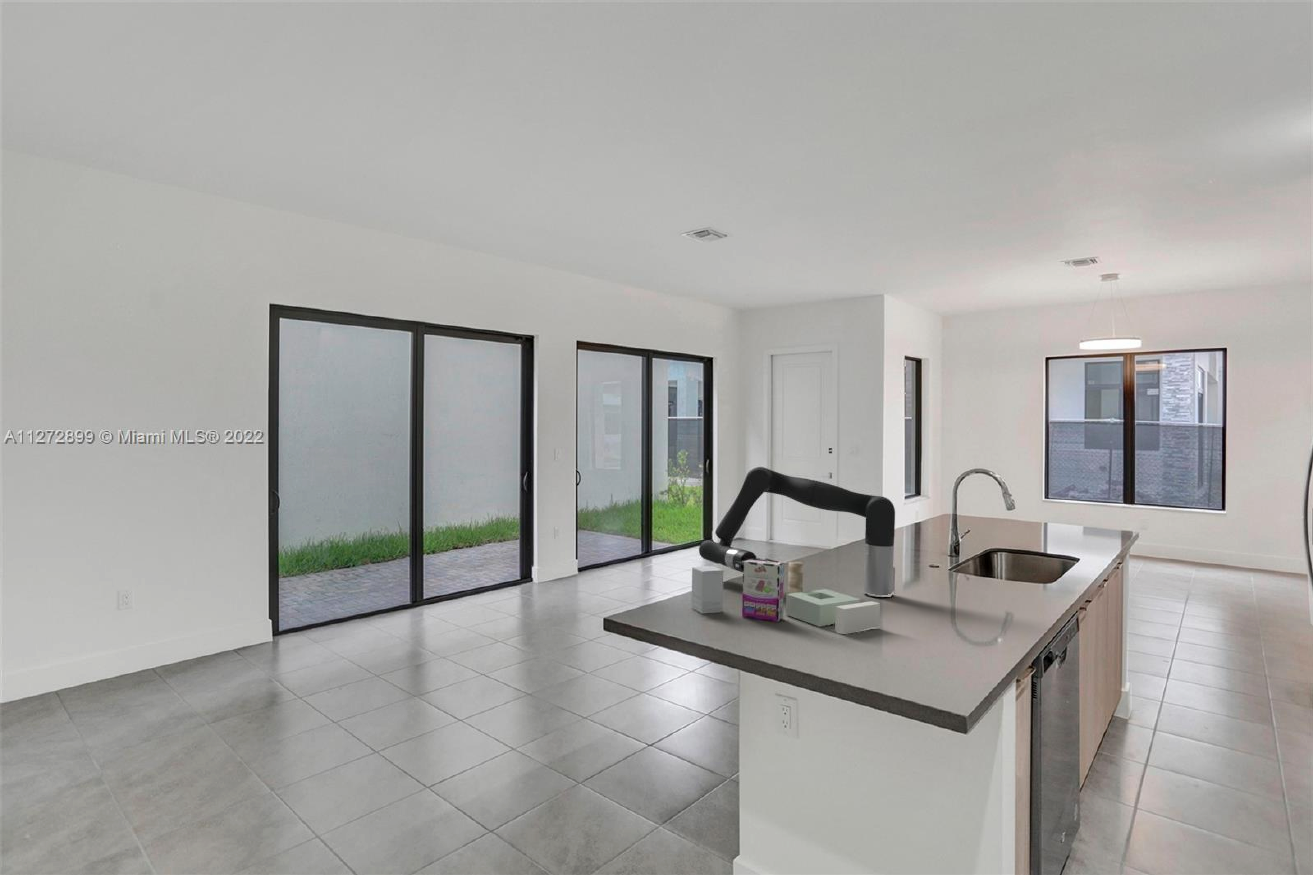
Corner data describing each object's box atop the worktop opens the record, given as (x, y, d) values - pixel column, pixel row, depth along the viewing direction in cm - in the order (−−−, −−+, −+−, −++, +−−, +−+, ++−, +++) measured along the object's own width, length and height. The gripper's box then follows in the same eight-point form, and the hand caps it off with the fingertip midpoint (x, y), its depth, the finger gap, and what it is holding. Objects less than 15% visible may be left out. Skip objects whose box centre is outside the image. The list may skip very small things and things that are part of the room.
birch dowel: (795, 605, 211) (796, 561, 210) (805, 609, 207) (806, 563, 207) (784, 607, 208) (785, 562, 208) (794, 610, 205) (795, 565, 204)
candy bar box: (783, 618, 196) (785, 562, 196) (778, 622, 191) (779, 565, 191) (747, 613, 201) (748, 558, 201) (741, 616, 196) (742, 560, 196)
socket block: (825, 608, 207) (826, 589, 207) (860, 619, 195) (860, 599, 195) (785, 614, 199) (786, 594, 199) (819, 626, 187) (819, 605, 187)
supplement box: (723, 612, 201) (724, 570, 201) (700, 614, 198) (702, 571, 198) (712, 606, 208) (713, 565, 208) (690, 608, 205) (691, 566, 205)
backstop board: (871, 625, 190) (871, 601, 190) (879, 628, 188) (880, 603, 188) (835, 632, 183) (835, 606, 183) (843, 635, 181) (844, 609, 181)
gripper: (724, 550, 228) (754, 559, 214) (757, 548, 235) (788, 556, 221) (723, 572, 228) (753, 583, 214) (756, 569, 235) (787, 579, 221)
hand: (771, 569), depth 217 cm, fingers open, 8 cm apart
